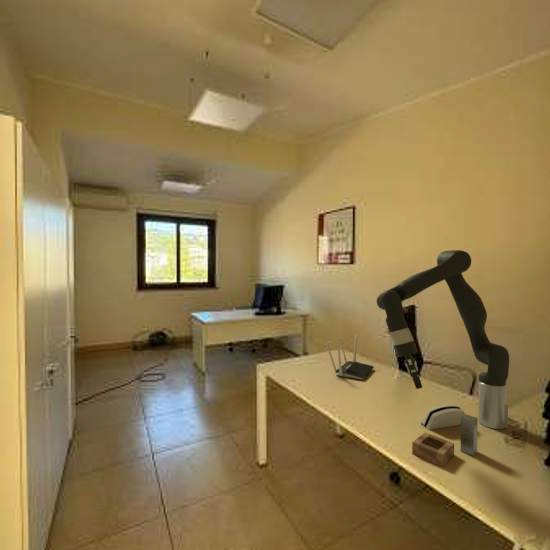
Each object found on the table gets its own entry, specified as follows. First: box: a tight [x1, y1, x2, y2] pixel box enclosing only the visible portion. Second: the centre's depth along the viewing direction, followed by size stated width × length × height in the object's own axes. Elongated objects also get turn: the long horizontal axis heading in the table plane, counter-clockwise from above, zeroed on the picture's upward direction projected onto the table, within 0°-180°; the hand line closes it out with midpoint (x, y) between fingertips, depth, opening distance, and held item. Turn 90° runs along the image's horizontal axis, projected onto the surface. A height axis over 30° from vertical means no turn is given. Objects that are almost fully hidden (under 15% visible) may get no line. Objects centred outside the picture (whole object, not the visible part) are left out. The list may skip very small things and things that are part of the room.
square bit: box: [460, 413, 478, 457], centre depth 112 cm, size 4×4×12 cm
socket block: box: [411, 431, 455, 468], centre depth 110 cm, size 10×10×4 cm
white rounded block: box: [419, 403, 466, 430], centre depth 130 cm, size 17×5×10 cm, turn 104°
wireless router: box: [325, 334, 375, 380], centre depth 197 cm, size 34×23×20 cm
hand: (418, 386), depth 115 cm, fingers open, 8 cm apart
